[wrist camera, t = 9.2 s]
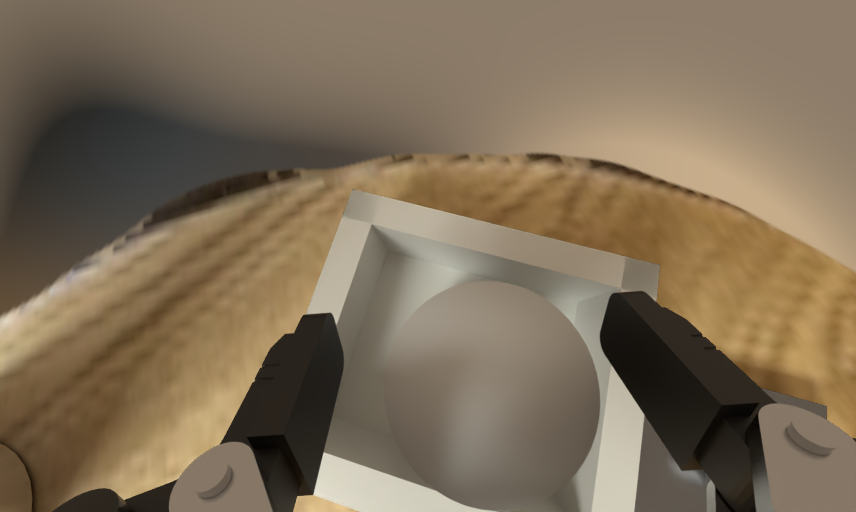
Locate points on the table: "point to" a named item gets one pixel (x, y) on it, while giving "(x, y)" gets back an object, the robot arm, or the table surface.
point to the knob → (492, 395)
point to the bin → (410, 288)
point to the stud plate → (683, 490)
